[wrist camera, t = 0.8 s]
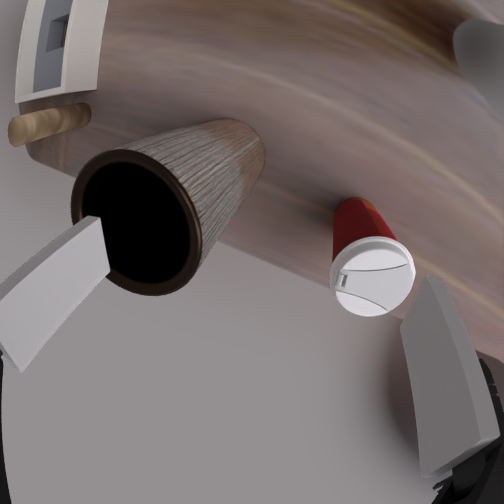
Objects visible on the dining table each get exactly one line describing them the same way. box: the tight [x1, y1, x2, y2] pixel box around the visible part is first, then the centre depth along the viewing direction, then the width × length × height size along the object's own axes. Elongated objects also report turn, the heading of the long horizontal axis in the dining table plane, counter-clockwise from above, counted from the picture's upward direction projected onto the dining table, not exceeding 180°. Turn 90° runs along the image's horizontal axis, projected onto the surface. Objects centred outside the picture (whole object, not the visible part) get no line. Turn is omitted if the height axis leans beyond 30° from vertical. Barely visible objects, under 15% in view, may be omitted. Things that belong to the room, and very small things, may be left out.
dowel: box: [8, 103, 91, 147], centre depth 30 cm, size 4×4×14 cm
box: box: [15, 0, 109, 104], centre depth 25 cm, size 22×14×7 cm, turn 173°
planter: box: [71, 119, 265, 296], centre depth 26 cm, size 10×10×23 cm
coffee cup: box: [329, 198, 415, 316], centre depth 30 cm, size 8×8×15 cm
